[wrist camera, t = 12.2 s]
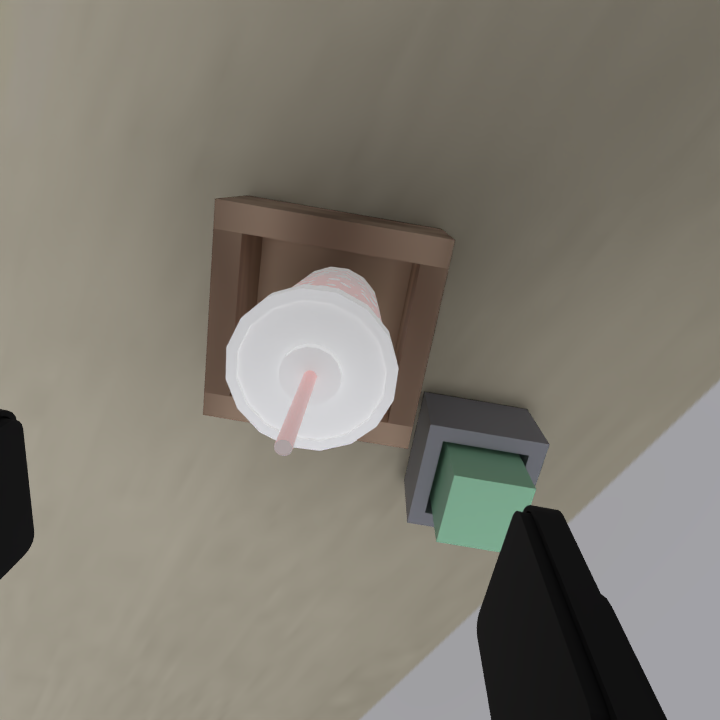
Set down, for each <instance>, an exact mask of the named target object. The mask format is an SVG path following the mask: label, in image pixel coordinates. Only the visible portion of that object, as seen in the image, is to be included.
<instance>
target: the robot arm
mask: <svg viewBox="0 0 720 720" xmlns="http://www.w3.org/2000/svg"><path fill="white" fill-rule="evenodd" d="M33 538H34V525H33V516H32V507H31V498H30V488H29V479H28V470H27V461H26V451H25V442H24V433H23V427H22V424H21V423H20V422H19V421H17V420H16V417H15V415H14V414H13V413H12V412H10V411H7V410H2V409H0V579H1V578H2V577H3V576H4V575H5V574H6V573H7V572H8V571H9V570H10V569H11V568H12V567H13V566H14V565H15V564H16V563H17V562H18V561H19V560H20V559H21V558H22V557H23V556H24V555H25V554H26V552H27V551H28V550H29V548H30V546H31V544H32V542H33ZM477 638H478V643H479V650H480V655H481V661H482V667H483V673H484V679H485V685H486V691H487V697H488V703H489V709H490V715H491V720H667V718H666V716H665V714H664V712H663V710H662V708H661V706H660V704H659V702H658V700H657V698H656V696H655V694H654V692H653V690H652V688H651V686H650V684H649V682H648V680H647V677H646V675H645V674H644V671H643V669H642V668H641V665H640V663H639V661H638V659H637V657H636V655H635V653H634V651H633V649H632V647H631V645H630V643H629V641H628V639H627V637H626V635H625V633H624V631H623V628H622V626H621V624H620V622H619V620H618V618H617V616H616V614H615V612H614V610H613V608H612V606H611V605H610V603H609V602H608V600H607V598H605V597H604V596H603V595H601V594H600V591H599V589H598V587H597V585H596V583H595V581H594V579H593V577H592V575H591V572H590V570H589V568H588V566H587V564H586V562H585V560H584V558H583V556H582V554H581V551H580V549H579V547H578V545H577V543H576V541H575V539H574V537H573V535H572V533H571V531H570V529H569V526H568V524H567V522H566V520H565V518H564V516H563V514H562V513H561V512H560V511H558V510H554V509H549V508H543V507H538V506H532V505H528V506H526V507H525V508H524V510H523V512H521V511H515V513H514V514H513V516H512V519H511V522H510V525H509V527H508V530H507V533H506V536H505V539H504V542H503V545H502V548H501V551H500V554H499V557H498V560H497V563H496V565H495V568H494V571H493V574H492V577H491V580H490V583H489V586H488V589H487V592H486V595H485V598H484V600H483V603H482V606H481V609H480V612H479V616H478V621H477Z"/></svg>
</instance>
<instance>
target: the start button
mask: <svg viewBox="0 0 720 720" xmlns="http://www.w3.org/2000/svg"><path fill="white" fill-rule="evenodd" d="M535 491H536V488H535V486H534V484H533V482H532V480H531V478H530V476H529V474H528V472H527V470H526V467H525V465H524V463H523V461H522V459H521V457H520V455H519V454H516V453H511V452H505V451H499V450H493V449H487V448H481V447H475V446H469V445H463V444H457V443H451V442H445V441H443V443H442V447H441V451H440V455H439V459H438V463H437V467H436V471H435V475H434V479H433V483H432V487H431V491H430V501H431V508H432V515H433V522H434V529H435V536H436V542H441V543H447V544H453V545H459V546H465V547H472V548H478V549H484V550H490V551H496V552H500V551H501V548H502V545H503V542H504V539H505V536H506V533H507V530H508V527H509V525H510V522H511V519H512V516H513V514H514V513H515V511H521V512H523V510H524V508H525V507H526V506H528V505H531V503H532V500H533V497H534V494H535Z"/></svg>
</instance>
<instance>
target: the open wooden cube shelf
mask: <svg viewBox="0 0 720 720" xmlns="http://www.w3.org/2000/svg"><path fill="white" fill-rule="evenodd" d="M454 243H455V240H454V239H453V238H452V237H451V236H449V235H448V234H447V233H446V232H445V231H443V230H442V229H438V228H432V227H427V226H421V225H415V224H409V223H404V222H398V221H392V220H386V219H380V218H375V217H369V216H363V215H357V214H352V213H346V212H340V211H334V210H328V209H323V208H317V207H311V206H305V205H300V204H294V203H288V202H282V201H276V200H271V199H265V198H259V197H253V196H248V195H247V196H237V197H227V198H217V199H215V210H214V228H213V246H212V264H211V282H210V300H209V318H208V336H207V354H206V372H205V389H204V407H203V415H208V416H214V417H220V418H226V419H232V420H238V421H244V422H250V421H249V420H248V419H247V418H246V417H245V416H244V415H243V414H242V413H241V412H240V411H239V410H238V409H237V406H236V404H235V401H234V399H233V396H232V394H231V391H230V389H229V386H228V384H227V381H226V347H227V345H228V343H229V341H230V339H231V337H232V335H233V333H234V331H235V329H236V327H237V325H238V323H239V321H240V319H241V318H242V317H243V316H244V315H245V314H246V313H247V312H249V311H250V310H251V309H252V308H254V307H255V306H256V305H257V304H259V303H260V302H261V301H262V300H263V299H265V298H266V297H267V296H268V295H270V294H271V293H274V292H277V291H281V290H285V289H288V288H292V287H293V286H294V285H296V284H297V283H299V282H300V281H301V280H303V279H304V278H305V277H307V276H308V275H310V274H311V273H312V272H314V271H317V270H321V269H324V268H328V267H337V268H345V269H349V270H351V271H353V272H354V273H356V274H358V275H360V276H362V277H363V278H364V279H365V280H366V281H367V283H368V284H369V285H370V286H371V288H372V289H373V290H374V292H375V295H376V299H377V303H378V306H379V311H380V315H381V320H382V323H383V324H384V326H385V327H386V328H387V329H388V331H389V333H390V337H391V341H392V345H393V348H394V352H395V356H396V359H397V364H398V369H399V370H398V376H397V382H396V389H395V395H394V401H393V402H392V404H391V405H390V407H389V408H388V410H387V411H386V413H385V415H384V416H383V418H382V419H381V421H380V422H379V424H378V425H377V427H375V428H374V429H372V430H371V431H369V432H368V433H366V434H365V435H363V436H362V437H360V438H359V439H357V441H363V442H369V443H375V444H381V445H387V446H393V447H399V448H405V449H408V446H409V442H410V437H411V433H412V429H413V424H414V420H415V415H416V411H417V406H418V402H419V398H420V393H421V389H422V384H423V380H424V375H425V371H426V367H427V362H428V358H429V353H430V349H431V345H432V340H433V336H434V331H435V327H436V322H437V318H438V314H439V309H440V305H441V300H442V296H443V291H444V287H445V283H446V278H447V274H448V269H449V265H450V261H451V256H452V252H453V247H454Z"/></svg>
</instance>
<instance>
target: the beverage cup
mask: <svg viewBox="0 0 720 720" xmlns="http://www.w3.org/2000/svg"><path fill="white" fill-rule="evenodd" d="M398 370H399V369H398V364H397V359H396V356H395V352H394V348H393V345H392V341H391V337H390V333H389V331H388V329H387V328H386V327H385V326H384V324H383V323H382V320H381V315H380V311H379V306H378V303H377V299H376V295H375V292H374V290H373V289H372V288H371V286H370V285H369V284H368V283H367V281H366V280H365V279H364V278H363V277H362V276H360V275H358V274H356V273H354V272H353V271H351V270H349V269H345V268H337V267H328V268H324V269H321V270H317V271H314V272H312V273H311V274H310V275H308V276H307V277H305V278H304V279H303V280H301V281H300V282H299V283H297V284H296V285H294V286H293V287H292V288H288V289H285V290H281V291H277V292H274V293H271V294H270V295H268V296H267V297H266V298H265V299H263V300H262V301H261V302H260V303H259V304H257V305H256V306H255V307H254V308H252V309H251V310H250V311H249V312H247V313H246V314H245V315H244V316H243V317H242V318H241V319H240V321H239V323H238V325H237V327H236V329H235V331H234V333H233V335H232V337H231V339H230V341H229V343H228V345H227V347H226V381H227V384H228V386H229V389H230V391H231V394H232V396H233V399H234V401H235V404H236V406H237V409H238V410H239V411H240V412H241V413H242V414H243V415H244V416H245V417H246V418H247V419H248V420H249V421H250V423H251V424H252V425H253V426H254V427H255V428H256V429H257V430H258V431H259V432H260V433H262V434H264V435H266V436H268V437H270V438H272V439H274V440H276V442H275V444H274V449H275V452H276V453H277V454H279V455H281V456H286V455H289V454H290V453H291V452H292V449H293V447H295V448H303V449H311V450H318V451H321V450H326V449H330V448H334V447H339V446H343V445H348V444H351V443H353V442H354V441H356V440H357V439H359V438H360V437H362V436H363V435H365V434H366V433H368V432H369V431H371V430H372V429H374V428H375V427H377V425H378V424H379V422H380V421H381V419H382V418H383V416H384V415H385V413H386V411H387V410H388V408H389V407H390V405H391V404H392V402H393V401H394V395H395V389H396V382H397V376H398Z"/></svg>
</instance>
